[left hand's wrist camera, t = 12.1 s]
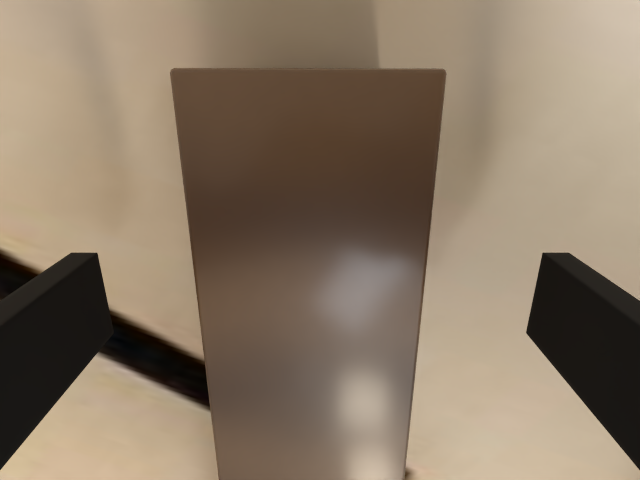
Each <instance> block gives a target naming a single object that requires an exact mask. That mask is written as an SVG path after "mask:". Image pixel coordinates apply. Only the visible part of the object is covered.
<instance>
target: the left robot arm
mask: <svg viewBox="0 0 640 480" xmlns="http://www.w3.org/2000/svg"><path fill="white" fill-rule="evenodd" d="M113 333H114V331H113V326H112V321H111V317H110V312H109V307H108V302H107V297H106V293H105V288H104V283H103V278H102V273H101V268H100V264H99V259H98V254H97V253H70V254H69V255H67V256H66V257H64V258H63V259H61V260H60V261H58V262H57V263H56V264H54V265H53V266H51V267H50V268H48V269H47V270H45V271H44V272H42V273H41V274H39V275H38V276H36V277H35V278H33V279H32V280H30V281H29V282H27V283H26V284H25V285H23V286H22V287H20V288H19V289H17V290H16V291H14V292H13V293H11V294H10V295H8V296H7V297H5V298H4V299H2V300H1V301H0V470H1V468H2V467H3V466H4V465H5V464H6V462H7V461H8V460H9V459H10V458H11V456H12V455H13V454H14V453H15V452H16V450H17V449H18V448H19V447H20V446H21V444H22V443H23V442H24V441H25V440H26V438H27V437H28V436H29V435H30V433H31V432H32V431H33V430H34V429H35V427H36V426H37V425H38V424H39V423H40V421H41V420H42V419H43V418H44V417H45V415H46V414H47V413H48V412H49V411H50V409H51V408H52V407H53V406H54V405H55V403H56V402H57V401H58V400H59V398H60V397H61V396H62V395H63V394H64V392H65V391H66V390H67V389H68V388H69V386H70V385H71V384H72V383H73V382H74V380H75V379H76V378H77V377H78V376H79V374H80V373H81V372H82V371H83V370H84V368H85V367H86V366H87V365H88V364H89V362H90V361H91V360H92V359H93V357H94V356H95V355H96V354H97V353H98V351H99V350H100V349H101V348H102V347H103V345H104V344H105V343H106V342H107V341H108V339H109V338H110V337H111V336H112V335H113ZM526 333H527V335H528V336H529V337H530V338H531V339H532V341H533V342H534V343H535V344H536V345H537V347H538V348H539V349H540V350H541V351H542V353H543V354H544V355H545V356H546V357H547V359H548V360H549V361H550V362H551V364H552V365H553V366H554V367H555V368H556V370H557V371H558V372H559V373H560V374H561V376H562V377H563V378H564V379H565V380H566V382H567V383H568V384H569V385H570V386H571V388H572V389H573V390H574V391H575V392H576V394H577V395H578V396H579V397H580V398H581V400H582V401H583V402H584V403H585V405H586V406H587V407H588V408H589V409H590V411H591V412H592V413H593V414H594V415H595V417H596V418H597V419H598V420H599V421H600V423H601V424H602V425H603V426H604V427H605V429H606V430H607V431H608V432H609V433H610V435H611V436H612V437H613V438H614V440H615V441H616V442H617V443H618V444H619V446H620V447H621V448H622V449H623V450H624V452H625V453H626V454H627V455H628V456H629V458H630V459H631V460H632V461H633V462H634V464H635V465H636V466H637V467H638V468H639V470H640V301H639V300H638V299H636V298H635V297H633V296H632V295H630V294H629V293H627V292H626V291H624V290H623V289H621V288H620V287H618V286H617V285H615V284H614V283H613V282H611V281H610V280H608V279H607V278H605V277H604V276H602V275H601V274H599V273H598V272H596V271H595V270H593V269H592V268H590V267H589V266H587V265H586V264H584V263H583V262H582V261H580V260H579V259H577V258H576V257H574V256H573V255H571V254H570V253H543V254H542V259H541V264H540V268H539V273H538V278H537V283H536V288H535V293H534V297H533V302H532V307H531V312H530V317H529V321H528V326H527V331H526Z"/></svg>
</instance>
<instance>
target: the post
mask: <svg viewBox="0 0 640 480" xmlns="http://www.w3.org/2000/svg"><path fill="white" fill-rule="evenodd" d="M170 76H171V84H172V92H173V101H174V109H175V117H176V126H177V134H178V142H179V151H180V159H181V167H182V176H183V184H184V192H185V201H186V209H187V217H188V225H189V234H190V242H191V250H192V259H193V267H194V275H195V284H196V292H197V300H198V309H199V317H200V325H201V334H202V342H203V350H204V359H205V367H206V375H207V384H208V392H209V400H210V409H211V417H212V425H213V434H214V442H215V450H216V459H217V467H218V475H219V480H404V476H405V467H406V457H407V448H408V438H409V428H410V419H411V409H412V399H413V390H414V380H415V371H416V361H417V351H418V342H419V332H420V322H421V313H422V303H423V294H424V284H425V274H426V265H427V255H428V246H429V236H430V226H431V217H432V207H433V197H434V188H435V178H436V169H437V159H438V149H439V140H440V130H441V120H442V111H443V101H444V92H445V82H446V71H445V70H444V69H318V68H174V69H172V70H171V72H170Z"/></svg>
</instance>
